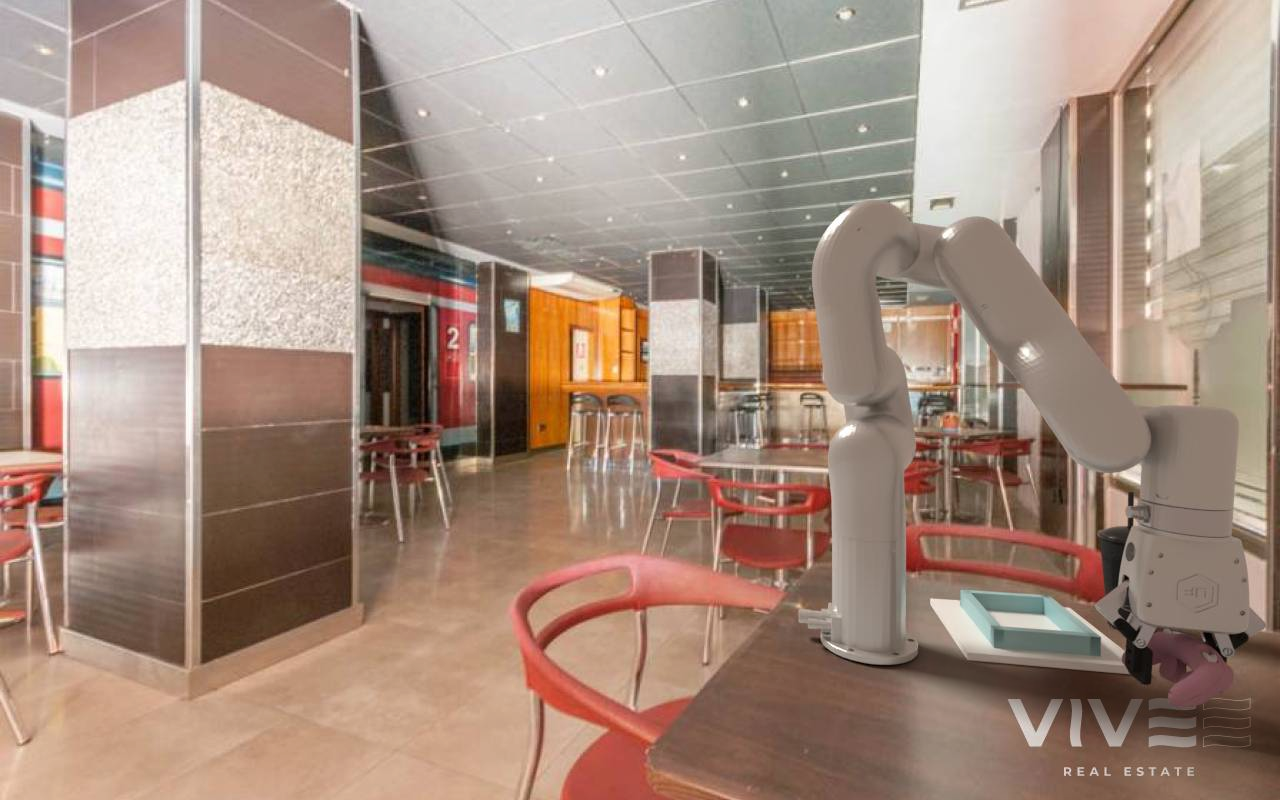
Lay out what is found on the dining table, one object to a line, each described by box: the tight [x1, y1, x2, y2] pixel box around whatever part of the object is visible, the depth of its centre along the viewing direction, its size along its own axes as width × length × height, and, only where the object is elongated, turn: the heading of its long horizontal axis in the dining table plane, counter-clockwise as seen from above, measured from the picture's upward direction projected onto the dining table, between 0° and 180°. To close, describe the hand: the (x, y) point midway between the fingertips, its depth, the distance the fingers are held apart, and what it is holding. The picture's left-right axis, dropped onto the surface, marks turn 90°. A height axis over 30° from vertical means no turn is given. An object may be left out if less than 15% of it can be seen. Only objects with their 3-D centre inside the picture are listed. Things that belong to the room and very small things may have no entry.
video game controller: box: [1122, 628, 1235, 708], centre depth 66 cm, size 10×5×7 cm, turn 168°
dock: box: [930, 589, 1131, 675], centre depth 86 cm, size 20×20×4 cm
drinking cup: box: [1096, 491, 1135, 630], centre depth 88 cm, size 8×8×20 cm
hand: (1173, 681), depth 66 cm, fingers closed on video game controller, 5 cm apart
